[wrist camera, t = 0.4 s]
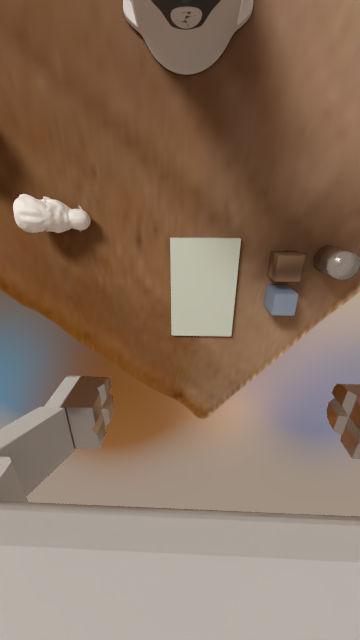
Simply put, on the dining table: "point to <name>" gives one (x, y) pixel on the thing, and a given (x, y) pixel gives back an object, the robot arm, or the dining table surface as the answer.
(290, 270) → the walnut block
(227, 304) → the sage board
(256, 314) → the dining table surface
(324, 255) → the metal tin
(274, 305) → the slate blue block
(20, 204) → the white figurine
